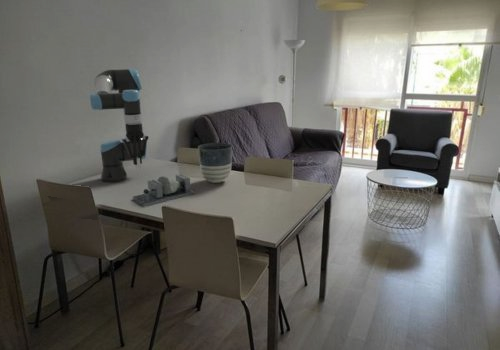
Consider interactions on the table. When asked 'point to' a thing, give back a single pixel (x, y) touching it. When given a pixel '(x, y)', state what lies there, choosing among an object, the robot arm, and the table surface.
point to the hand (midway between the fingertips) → (138, 170)
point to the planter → (215, 161)
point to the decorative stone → (168, 185)
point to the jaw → (154, 189)
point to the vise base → (181, 192)
